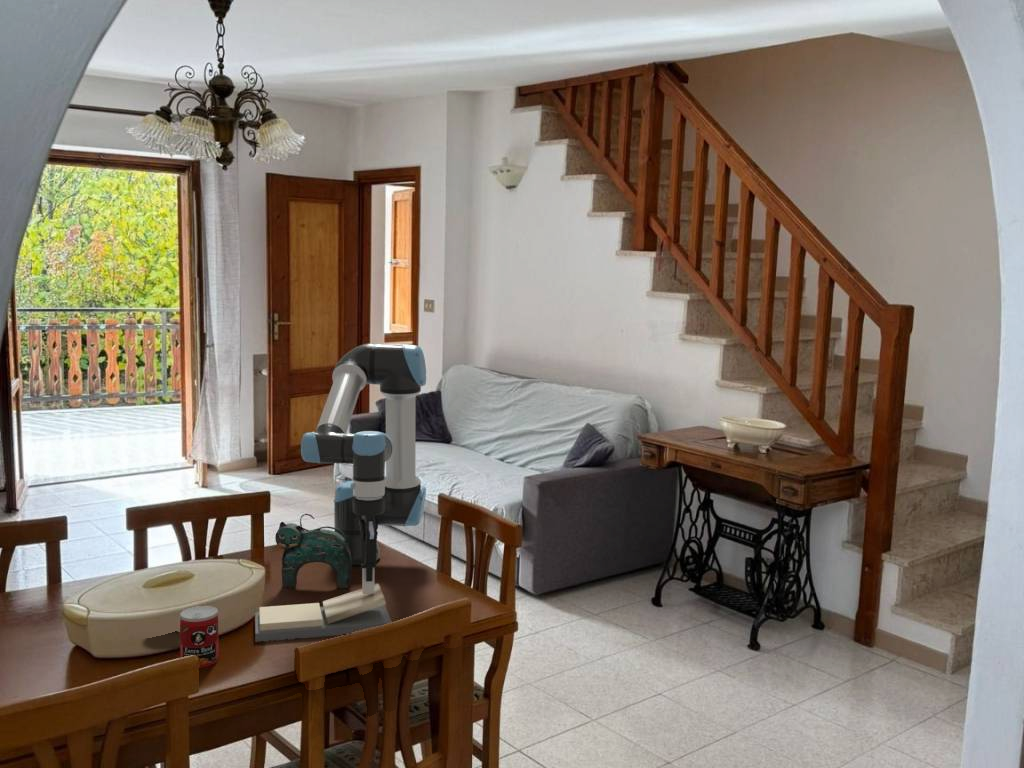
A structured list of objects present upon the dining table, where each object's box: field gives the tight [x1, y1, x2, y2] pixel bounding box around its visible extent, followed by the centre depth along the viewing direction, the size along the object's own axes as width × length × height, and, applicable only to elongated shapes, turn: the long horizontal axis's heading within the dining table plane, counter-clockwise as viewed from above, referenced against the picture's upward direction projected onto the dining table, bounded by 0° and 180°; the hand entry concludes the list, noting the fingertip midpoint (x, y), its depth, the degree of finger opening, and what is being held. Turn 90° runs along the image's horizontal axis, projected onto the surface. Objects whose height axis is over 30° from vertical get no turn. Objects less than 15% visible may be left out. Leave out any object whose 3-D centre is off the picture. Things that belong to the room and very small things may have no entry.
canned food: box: [179, 605, 219, 669], centre depth 190 cm, size 8×8×11 cm
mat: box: [254, 602, 393, 643], centre depth 212 cm, size 14×31×4 cm, turn 106°
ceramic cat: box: [274, 513, 353, 589], centre depth 239 cm, size 20×6×20 cm, turn 92°
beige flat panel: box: [322, 582, 387, 624], centre depth 214 cm, size 11×14×2 cm
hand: (368, 592), depth 214 cm, fingers closed
